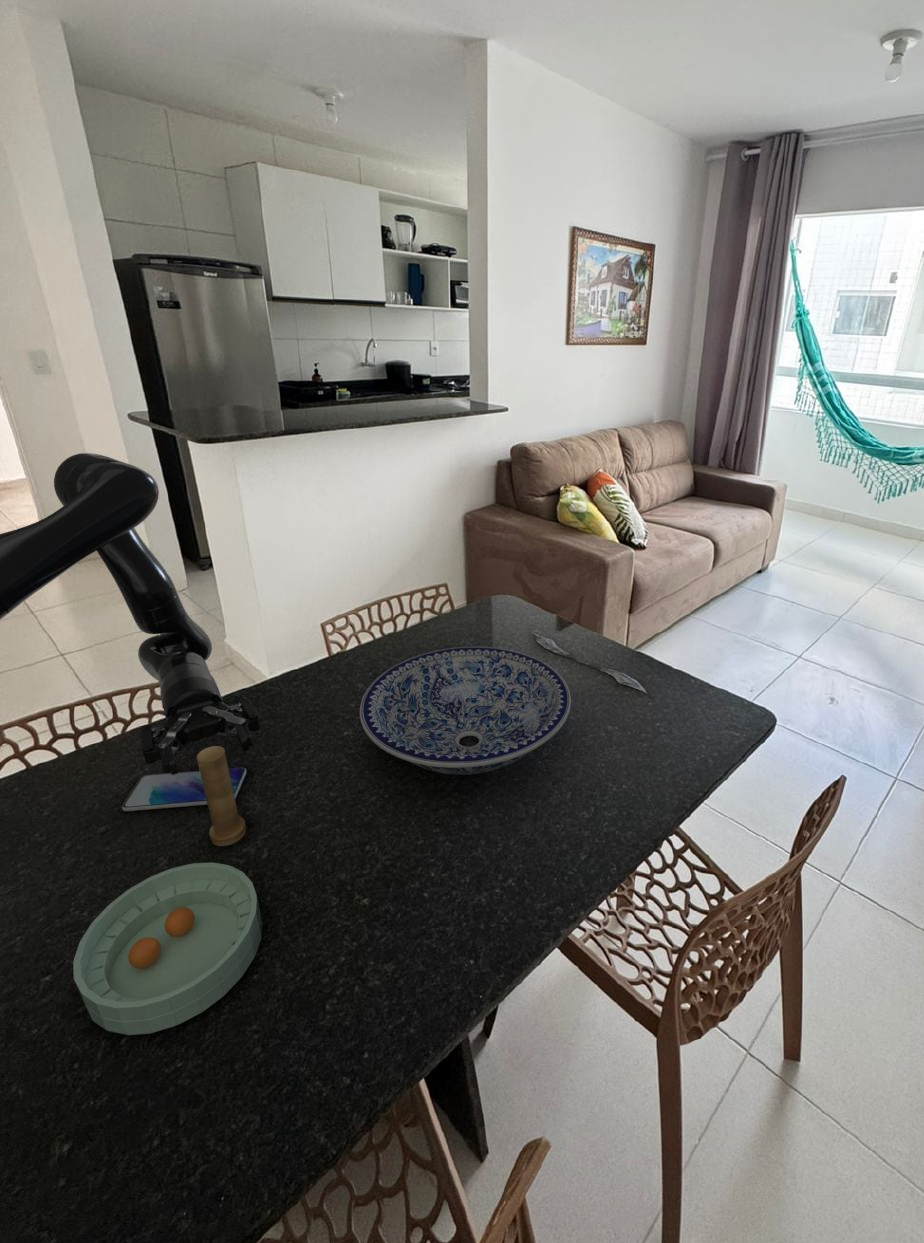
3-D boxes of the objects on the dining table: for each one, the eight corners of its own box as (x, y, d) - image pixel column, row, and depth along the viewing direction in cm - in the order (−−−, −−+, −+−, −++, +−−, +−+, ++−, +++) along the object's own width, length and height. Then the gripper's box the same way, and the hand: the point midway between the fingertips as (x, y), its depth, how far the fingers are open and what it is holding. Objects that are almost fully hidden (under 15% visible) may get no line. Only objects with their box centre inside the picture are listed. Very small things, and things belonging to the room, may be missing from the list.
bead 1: (125, 967, 69) (118, 949, 68) (151, 944, 72) (145, 926, 71) (143, 979, 68) (137, 961, 67) (169, 955, 71) (164, 937, 69)
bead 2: (161, 935, 73) (155, 918, 72) (185, 914, 75) (180, 897, 74) (179, 946, 72) (174, 928, 70) (202, 924, 74) (198, 907, 73)
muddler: (203, 839, 86) (183, 758, 81) (230, 817, 90) (213, 739, 84) (226, 850, 85) (207, 769, 79) (253, 828, 88) (237, 749, 83)
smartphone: (141, 774, 96) (247, 766, 98) (142, 779, 96) (248, 771, 99) (119, 808, 89) (233, 799, 92) (120, 813, 89) (234, 803, 92)
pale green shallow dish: (48, 992, 67) (34, 961, 65) (194, 871, 81) (186, 843, 79) (159, 1069, 61) (148, 1038, 59) (295, 924, 76) (289, 895, 74)
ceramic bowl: (509, 668, 130) (510, 626, 126) (607, 767, 104) (612, 718, 100) (339, 718, 112) (333, 670, 108) (407, 852, 86) (403, 796, 82)
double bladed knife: (534, 633, 144) (521, 641, 140) (535, 631, 143) (521, 639, 140) (657, 685, 127) (645, 696, 123) (657, 682, 127) (645, 693, 123)
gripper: (129, 691, 90) (141, 754, 78) (238, 663, 98) (263, 716, 86) (141, 733, 93) (154, 800, 81) (245, 703, 101) (271, 759, 90)
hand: (210, 757), depth 84 cm, fingers open, 8 cm apart
